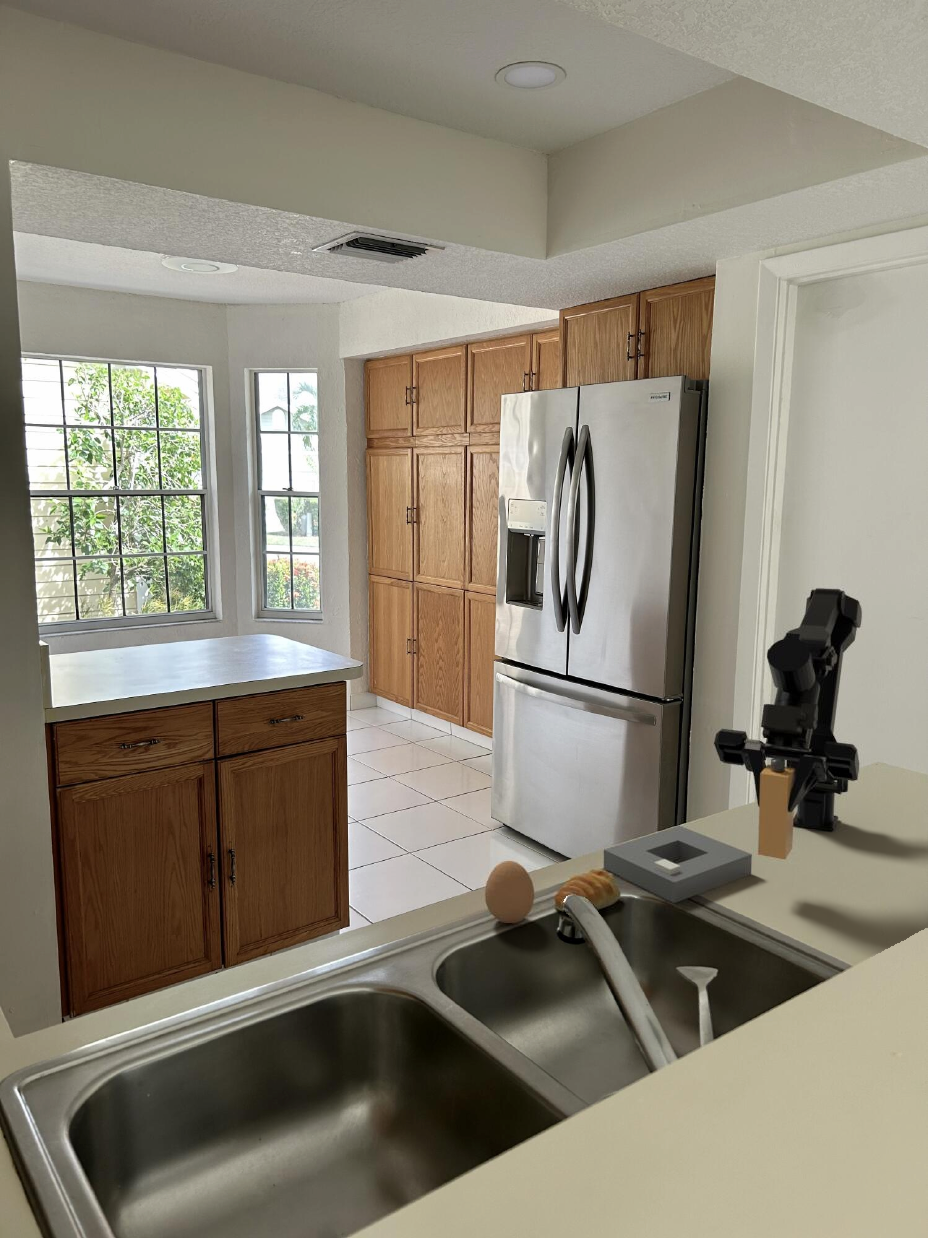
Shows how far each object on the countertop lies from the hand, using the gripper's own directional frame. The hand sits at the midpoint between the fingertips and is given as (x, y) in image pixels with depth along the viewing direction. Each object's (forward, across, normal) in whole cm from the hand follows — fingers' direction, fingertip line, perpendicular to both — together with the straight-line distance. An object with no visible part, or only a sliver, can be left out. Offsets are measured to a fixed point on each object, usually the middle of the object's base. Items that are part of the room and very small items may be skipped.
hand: (774, 808), depth 123 cm
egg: (+26, -28, -8) cm, 39 cm away
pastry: (+19, -22, 0) cm, 28 cm away
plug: (+4, 0, +6) cm, 7 cm away
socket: (+8, -14, +10) cm, 19 cm away
